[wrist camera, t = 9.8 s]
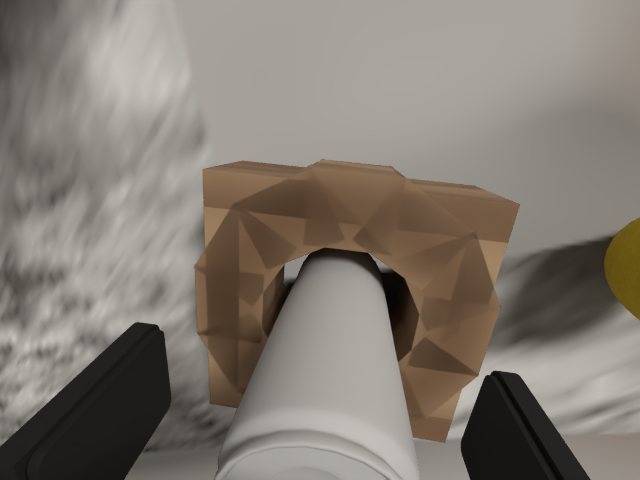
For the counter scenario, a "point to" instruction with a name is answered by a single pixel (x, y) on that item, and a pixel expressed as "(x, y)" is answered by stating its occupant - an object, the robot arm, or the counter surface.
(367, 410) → the beverage can
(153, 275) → the counter surface
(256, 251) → the socket block
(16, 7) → the counter surface
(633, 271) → the lemon
